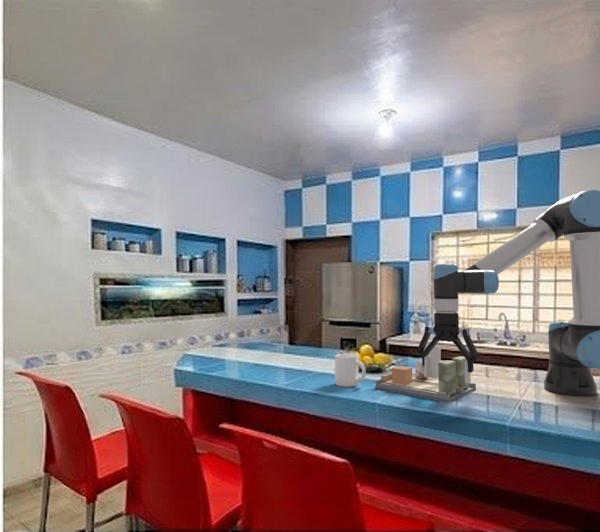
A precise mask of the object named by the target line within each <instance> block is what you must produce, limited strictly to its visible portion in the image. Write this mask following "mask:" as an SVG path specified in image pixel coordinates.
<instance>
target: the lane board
mask: <svg viewBox="0 0 600 532" xmlns="http://www.w3.org/2000/svg"><path fill="white" fill-rule="evenodd" d="M412 375H416V374H415V373H412ZM429 377H431V376H429ZM431 378H438V377H431ZM412 382H418V383H424V384H430V385H436V386H439V385H437V384H431V383H425V382H419V381H413V380H412ZM375 389H378V390H383V391H388V392H392V393H397V394H403V395H408V396H414V397H418V398H425V399H428V400H434V401H440V402H444V403H451V402H453V401H454V400H457V399H460V398H461V397H464V396H465V395H467V394H469V393H471V392H474V391H476V390H475V389H477V383H476V382H475V383H474V382H470V383H468V387H467V388H465V389H461V388H456V393H454V394H452V395H446V394H441V393H435V392H430V391H424V390H419V389H413V388H408V387H402V386H396V385H391V384H385V383H381V378H379V379H376V380H375ZM473 390H474V391H473Z"/></svg>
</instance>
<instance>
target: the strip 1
mask: <svg viewBox="0 0 600 532" xmlns="http://www.w3.org/2000/svg"><path fill="white" fill-rule="evenodd" d="M380 379H381V383H385V384H391V385H396V386H402V387H408V388H413V389H419V390H424V391H430V392H435V393H441V394H446V395H452V394H454V393H456V374H455V361H452V360H448V359H446V360H441V362H439V363H438V379H439V386H436V385H430V384H424V383H418V382H412V383H409V384H407V385H402V384H397V383H392V372H390V373H387V374H384V375H381V378H380Z"/></svg>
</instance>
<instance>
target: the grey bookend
mask: <svg viewBox="0 0 600 532" xmlns="http://www.w3.org/2000/svg"><path fill="white" fill-rule="evenodd" d="M428 345H429V344H426V346H425V349H426V347H427V346H428ZM425 349H424V350H425ZM441 349H442V348H441V345H438V344H436V345H435V347H434V348H433V349H432V350H431V352H430V353H429V355H427V356H430V366H431V377H438V363H439V362H442V360H441V357H442V356H441V355H442V354H441Z"/></svg>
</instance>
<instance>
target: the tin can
mask: <svg viewBox="0 0 600 532" xmlns="http://www.w3.org/2000/svg"><path fill="white" fill-rule="evenodd" d="M414 362H415V363H414V366H415V372H414V374H416V379H419V380H427V379H428V377H425V366H423V365H422V360H415V361H414Z"/></svg>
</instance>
